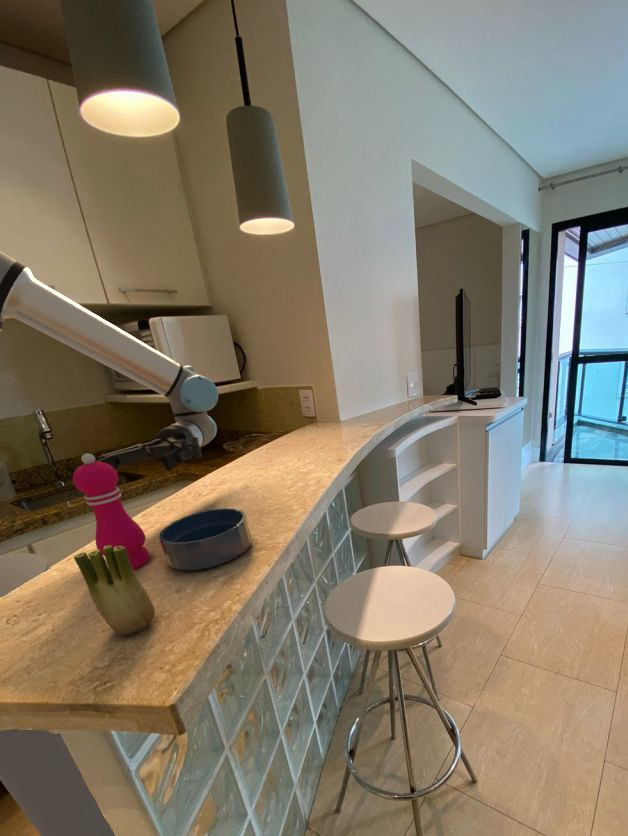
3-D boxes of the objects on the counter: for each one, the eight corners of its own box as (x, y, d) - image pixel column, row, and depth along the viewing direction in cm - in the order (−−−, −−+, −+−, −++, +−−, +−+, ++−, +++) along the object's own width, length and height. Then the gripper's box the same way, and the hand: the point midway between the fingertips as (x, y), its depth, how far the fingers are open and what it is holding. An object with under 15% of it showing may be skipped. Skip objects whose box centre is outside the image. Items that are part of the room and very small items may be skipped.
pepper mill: (132, 552, 76) (90, 448, 68) (162, 554, 74) (122, 446, 66) (97, 572, 70) (47, 460, 62) (128, 576, 68) (80, 459, 60)
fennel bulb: (102, 636, 53) (64, 556, 48) (134, 613, 57) (102, 537, 53) (136, 642, 51) (100, 559, 46) (166, 617, 55) (135, 539, 51)
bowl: (151, 565, 70) (141, 537, 68) (215, 530, 81) (208, 505, 79) (207, 579, 64) (197, 548, 62) (268, 539, 75) (261, 512, 73)
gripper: (236, 450, 96) (202, 479, 76) (131, 462, 96) (71, 494, 76) (228, 418, 93) (190, 439, 73) (120, 431, 93) (54, 455, 73)
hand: (129, 467), depth 75 cm, fingers open, 13 cm apart
